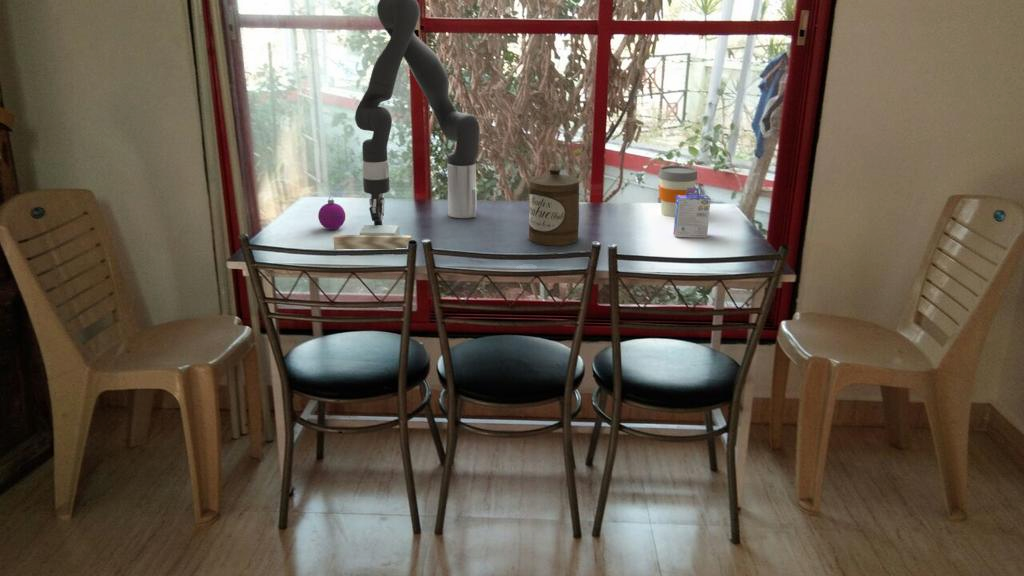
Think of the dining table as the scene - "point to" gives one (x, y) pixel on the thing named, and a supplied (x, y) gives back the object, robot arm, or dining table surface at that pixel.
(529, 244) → the dining table surface
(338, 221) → the christmas ornament
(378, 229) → the block
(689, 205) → the ink cartridge box
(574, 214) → the wooden container
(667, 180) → the reusable coffee cup
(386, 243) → the board
